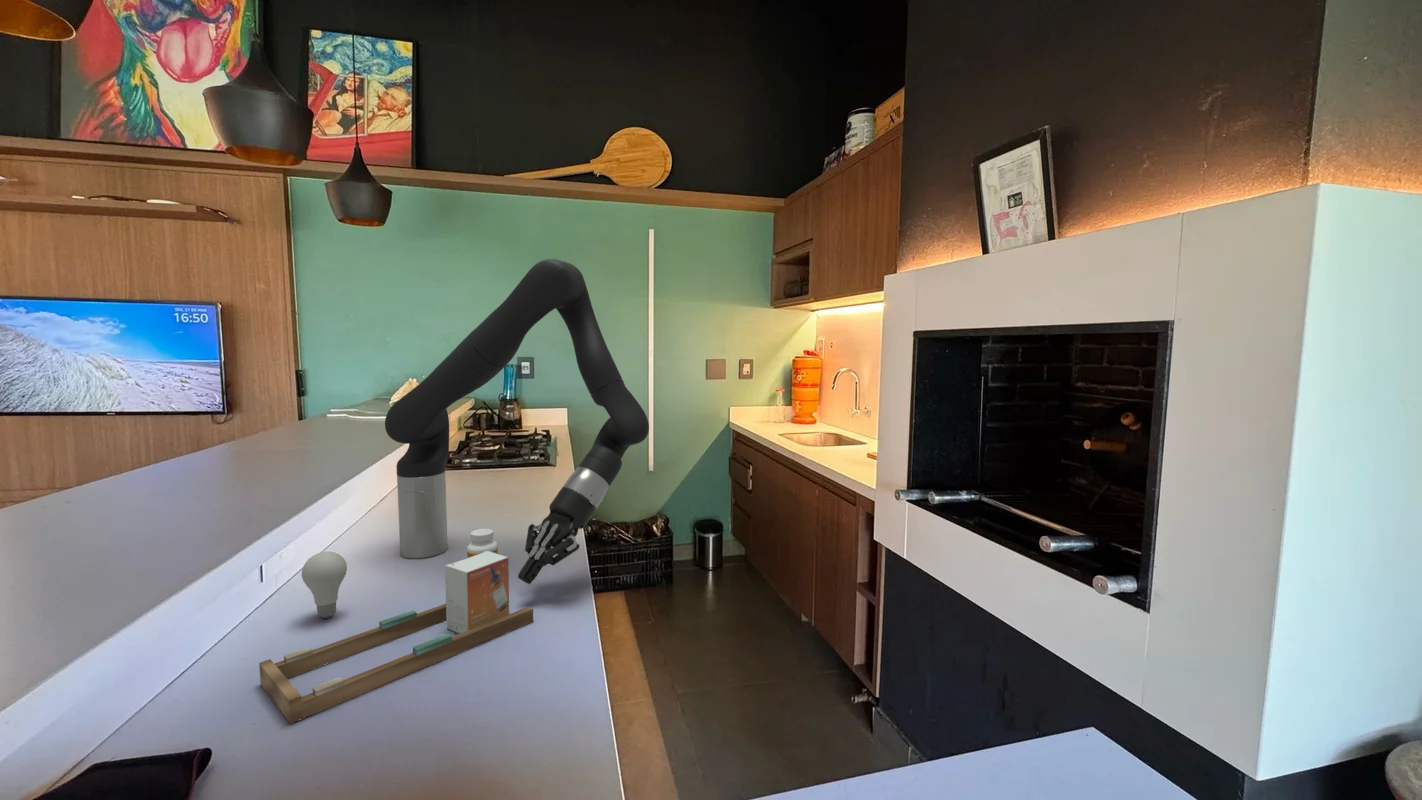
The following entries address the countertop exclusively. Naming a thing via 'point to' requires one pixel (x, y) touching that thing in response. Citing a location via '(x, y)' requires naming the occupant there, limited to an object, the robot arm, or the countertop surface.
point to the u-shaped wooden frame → (343, 690)
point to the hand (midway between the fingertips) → (523, 580)
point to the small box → (476, 591)
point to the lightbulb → (324, 580)
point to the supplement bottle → (481, 542)
